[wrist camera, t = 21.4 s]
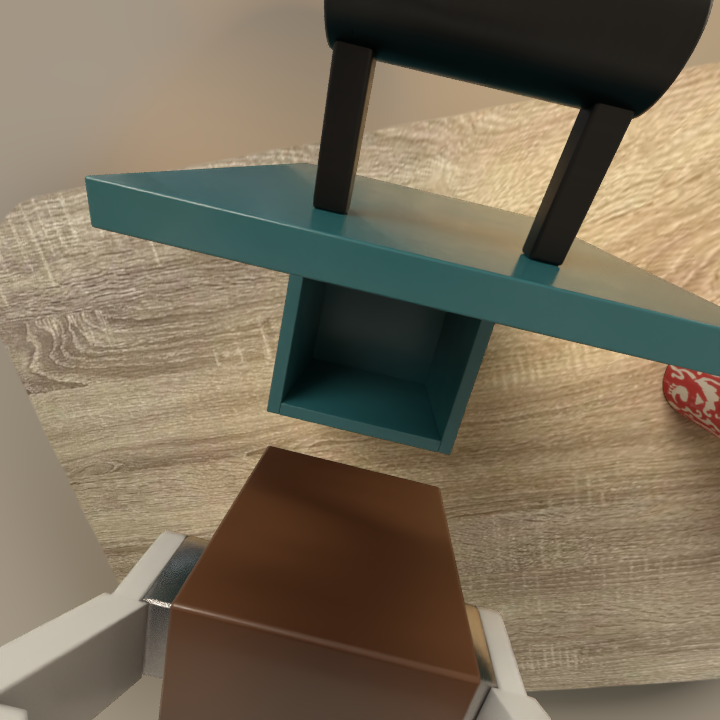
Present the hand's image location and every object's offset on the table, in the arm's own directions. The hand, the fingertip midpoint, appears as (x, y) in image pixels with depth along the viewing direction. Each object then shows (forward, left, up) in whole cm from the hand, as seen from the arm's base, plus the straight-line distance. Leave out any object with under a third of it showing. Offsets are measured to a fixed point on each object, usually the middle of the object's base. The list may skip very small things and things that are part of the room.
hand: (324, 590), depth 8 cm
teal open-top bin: (-3, +2, -25) cm, 25 cm away
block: (0, 0, -2) cm, 2 cm away
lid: (-7, +3, -7) cm, 11 cm away
